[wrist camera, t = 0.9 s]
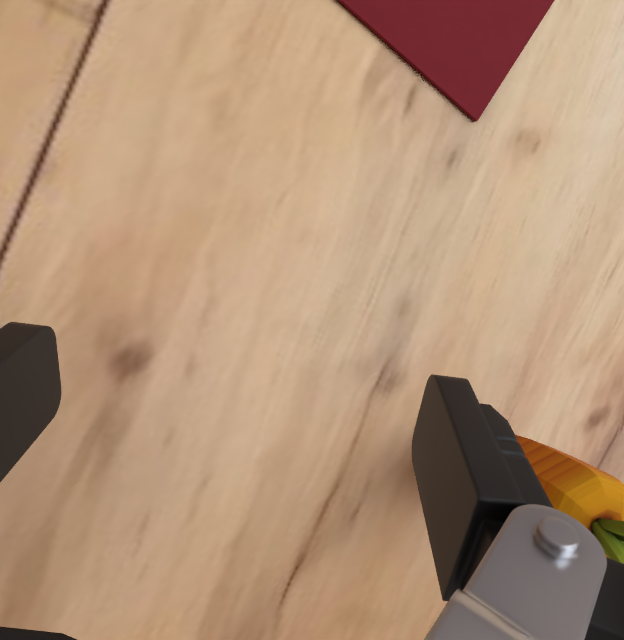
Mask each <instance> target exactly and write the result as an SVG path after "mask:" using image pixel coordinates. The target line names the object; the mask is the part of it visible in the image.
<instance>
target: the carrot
mask: <svg viewBox="0 0 624 640" xmlns="http://www.w3.org/2000/svg"><path fill="white" fill-rule="evenodd" d="M515 436H516V438H517V442H519V443H520V445H521V447H522V449H523V451H524V453H525V457H527V459H528V460H529V462H530V464H531V466H532V468H533V470H534V472H535V474H536V476H537V477H538V479H539V481H540V483H541V485H542V487H543V489H544V491H545V493H546V494H547V496H548V498H549V500H550V502H551V504H552V506H553V508H554V509H556V510H559V511H561V512H563V513H565V514H567V515H569V516H571V517H572V518H574V519H576V520H577V521H578V522H580V523H581V524H583V525H584V526H585V527H586V528H587V529H588V530H589V531H590V532H591V533H592V534H593V535H594V536H595V537H596V538H597V540H598V541H599V543H600V544H601V546H602V548H603V549H604V552H605V555H606V557H608V558H610V559H612V560H615V561H617V562H620V563H623V564H624V484H623V483H622V482H621V481H619V480H618V479H616V478H615V477H613V476H611V475H609V474H607V473H605V472H603V471H601V470H599V469H597V468H595V467H593V466H591V465H589V464H587V463H585V462H583V461H581V460H578V459H576V458H574V457H572V456H570V455H567V454H565V453H563V452H561V451H559V450H556V449H554V448H551V447H549V446H546V445H544V444H541V443H538V442H536V441H533V440H531V439H527V438H524V437H521V436H517V435H515Z"/></svg>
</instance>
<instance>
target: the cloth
mask: <svg viewBox="0 0 624 640" xmlns="http://www.w3.org/2000/svg"><path fill="white" fill-rule="evenodd" d="M337 1H338V2H340V3H341V4H342V5H343V6H344V7H345V8H346V9H348V10H349V11H350V12H351V13H352V14H353V15H354V16H355V17H357V18H358V19H359V20H360V21H361V22H362V23H363V24H365V25H366V26H367V27H368V28H369V29H370V30H371V31H372V32H374V33H375V34H376V35H377V36H378V37H379V38H380V39H382V40H383V41H384V42H385V43H386V44H387V45H388V46H389V47H391V48H392V49H393V50H394V51H395V52H396V53H397V54H399V55H400V56H401V57H402V58H403V59H404V60H405V61H406V62H408V63H409V64H410V65H411V66H412V67H413V68H414V69H416V70H417V71H418V72H419V73H420V74H421V75H422V76H423V77H425V78H426V79H427V80H428V81H429V82H430V83H431V84H433V85H434V86H435V87H436V88H437V89H438V90H439V91H440V92H442V93H443V94H444V95H445V96H446V97H447V98H448V99H450V100H451V101H452V102H453V103H454V104H455V105H456V106H457V107H459V108H460V109H461V110H462V111H463V112H464V113H465V114H467V115H468V116H469V117H470V118H471V119H472V120H473V121H475V122H476V121H478V119H479V118H480V116H481V114H482V113H483V111H484V110H485V108H486V107H487V105H488V103H489V102H490V100H491V99H492V97H493V96H494V94H495V92H496V91H497V89H498V88H499V86H500V85H501V83H502V81H503V80H504V78H505V77H506V75H507V74H508V72H509V71H510V69H511V67H512V66H513V64H514V63H515V61H516V60H517V58H518V56H519V55H520V53H521V52H522V50H523V49H524V47H525V45H526V44H527V42H528V41H529V39H530V38H531V36H532V35H533V33H534V31H535V30H536V28H537V27H538V25H539V24H540V22H541V20H542V19H543V17H544V16H545V14H546V13H547V11H548V9H549V8H550V6H551V5H552V3H553V2H554V0H337Z"/></svg>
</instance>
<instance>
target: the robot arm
mask: <svg viewBox="0 0 624 640" xmlns="http://www.w3.org/2000/svg"><path fill="white" fill-rule="evenodd" d="M60 400H61V381H60V372H59V363H58V353H57V344H56V336H55V333H54V331H53V329H52V328H51V327H48V326H41V325H33V324H25V323H17V322H10V323H8V324H6V325H5V326H3V327H2V328H1V329H0V482H1V481H2V480H3V478H4V477H5V476H6V475H7V474H8V472H9V471H10V470H11V469H12V468H13V466H14V465H15V464H16V463H17V462H18V460H19V459H20V458H21V457H22V456H23V454H24V453H25V452H26V451H27V449H28V448H29V447H30V446H31V445H32V443H33V442H34V441H35V440H36V439H37V437H38V436H39V435H40V434H41V433H42V431H43V430H44V429H45V428H46V427H47V425H48V424H49V423H50V422H51V420H52V419H53V418H54V416H55V415H56V413H57V410H58V408H59V404H60ZM412 462H413V467H414V472H415V476H416V481H417V485H418V490H419V494H420V499H421V503H422V508H423V512H424V517H425V522H426V526H427V531H428V535H429V540H430V544H431V549H432V553H433V558H434V562H435V567H436V572H437V576H438V581H439V585H440V590H441V594H442V599H443V601H448V603H447V604H446V606H445V607H444V609H443V611H442V612H441V614H440V615H439V617H438V619H437V620H436V622H435V623H434V625H433V626H432V628H431V630H430V631H429V633H428V634H427V636H426V638H425V639H424V640H624V564H623V563H620V562H617V561H615V560H612V559H610V558H608V557H606V555H605V552H604V549H603V548H602V546H601V544H600V543H599V541H598V540H597V538H596V537H595V536H594V535H593V534H592V533H591V532H590V531H589V530H588V529H587V528H586V527H585V526H584V525H583V524H581V523H580V522H578V521H577V520H576V519H574V518H572V517H571V516H569V515H567V514H565V513H563V512H561V511H559V510H556V509H554V508H553V506H552V504H551V502H550V500H549V498H548V496H547V494H546V493H545V491H544V489H543V487H542V485H541V483H540V481H539V479H538V477H537V476H536V474H535V472H534V470H533V468H532V466H531V464H530V462H529V460H528V459H527V457H525V453H524V451H523V449H522V447H521V445H520V443H519V442H517V438H516V436H515V434H514V432H513V430H512V428H511V426H510V425H509V423H508V421H507V420H506V419H505V418H504V417H503V416H502V415H500V414H499V413H498V412H497V411H496V410H495V409H494V408H493V407H492V406H491V405H487V404H479V402H478V400H477V398H476V396H475V393H474V391H473V389H472V387H471V385H470V383H469V381H468V380H467V379H464V378H456V377H448V376H440V375H431V376H430V377H429V379H428V381H427V384H426V387H425V391H424V395H423V399H422V403H421V406H420V410H419V414H418V418H417V422H416V426H415V429H414V434H413V440H412ZM0 640H76V639H74V638H72V637H69V636H67V635H65V634H62V633H53V632H44V631H35V630H26V629H17V628H7V627H0Z"/></svg>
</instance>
